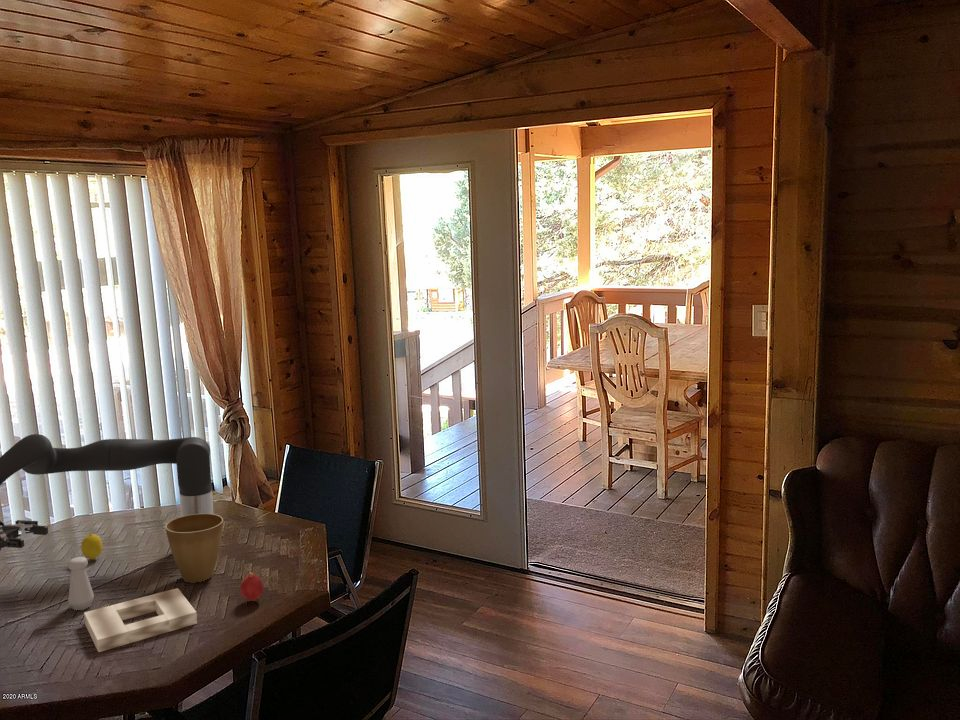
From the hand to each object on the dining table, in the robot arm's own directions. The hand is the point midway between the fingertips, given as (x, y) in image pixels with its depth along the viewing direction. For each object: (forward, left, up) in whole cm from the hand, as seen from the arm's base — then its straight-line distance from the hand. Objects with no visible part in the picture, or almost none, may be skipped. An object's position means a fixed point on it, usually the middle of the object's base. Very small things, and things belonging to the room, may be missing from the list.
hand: (35, 536), depth 193 cm
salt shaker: (-8, +8, -18) cm, 22 cm away
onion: (-44, +31, -18) cm, 57 cm away
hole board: (-18, +26, -18) cm, 36 cm away
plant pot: (-37, +8, -18) cm, 42 cm away
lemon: (-16, -22, -18) cm, 33 cm away
